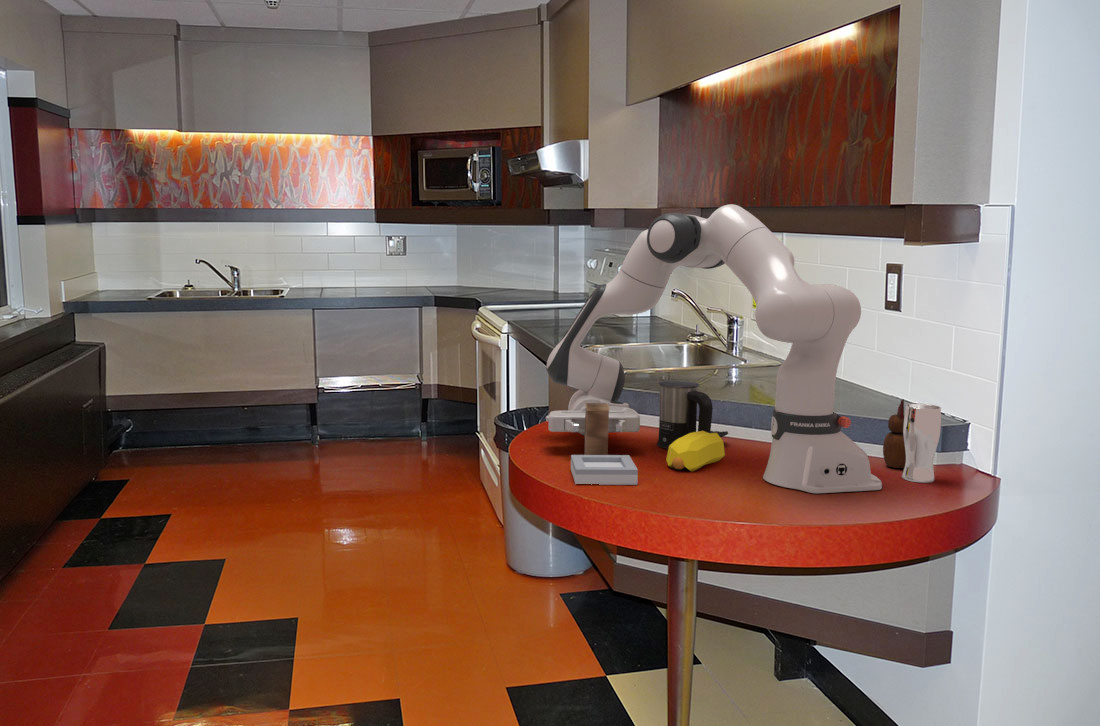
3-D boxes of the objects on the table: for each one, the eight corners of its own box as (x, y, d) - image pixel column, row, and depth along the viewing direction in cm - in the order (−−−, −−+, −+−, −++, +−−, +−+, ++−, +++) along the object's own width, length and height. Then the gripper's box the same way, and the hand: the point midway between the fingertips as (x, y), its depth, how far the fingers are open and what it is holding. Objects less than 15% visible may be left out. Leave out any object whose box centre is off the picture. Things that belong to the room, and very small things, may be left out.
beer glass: (937, 477, 188) (942, 405, 186) (936, 485, 181) (941, 410, 179) (900, 473, 190) (905, 402, 188) (898, 480, 184) (903, 407, 182)
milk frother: (649, 447, 210) (651, 383, 209) (678, 435, 224) (680, 375, 222) (707, 455, 203) (710, 389, 201) (733, 443, 216) (736, 381, 214)
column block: (605, 457, 199) (606, 403, 198) (607, 462, 195) (609, 407, 193) (584, 457, 199) (585, 403, 197) (586, 462, 195) (587, 406, 193)
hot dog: (658, 470, 190) (692, 476, 186) (660, 438, 189) (693, 443, 185) (698, 454, 205) (730, 460, 200) (700, 425, 204) (732, 429, 199)
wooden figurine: (907, 472, 191) (912, 401, 189) (879, 468, 194) (883, 398, 192) (914, 465, 197) (919, 396, 195) (886, 461, 200) (890, 394, 198)
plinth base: (628, 469, 189) (629, 455, 189) (637, 484, 177) (637, 469, 177) (570, 469, 189) (571, 454, 188) (575, 484, 177) (575, 469, 176)
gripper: (545, 402, 209) (548, 413, 195) (634, 403, 210) (644, 414, 196) (545, 429, 209) (548, 443, 196) (634, 430, 211) (643, 443, 197)
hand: (597, 428), depth 196 cm, fingers open, 8 cm apart
